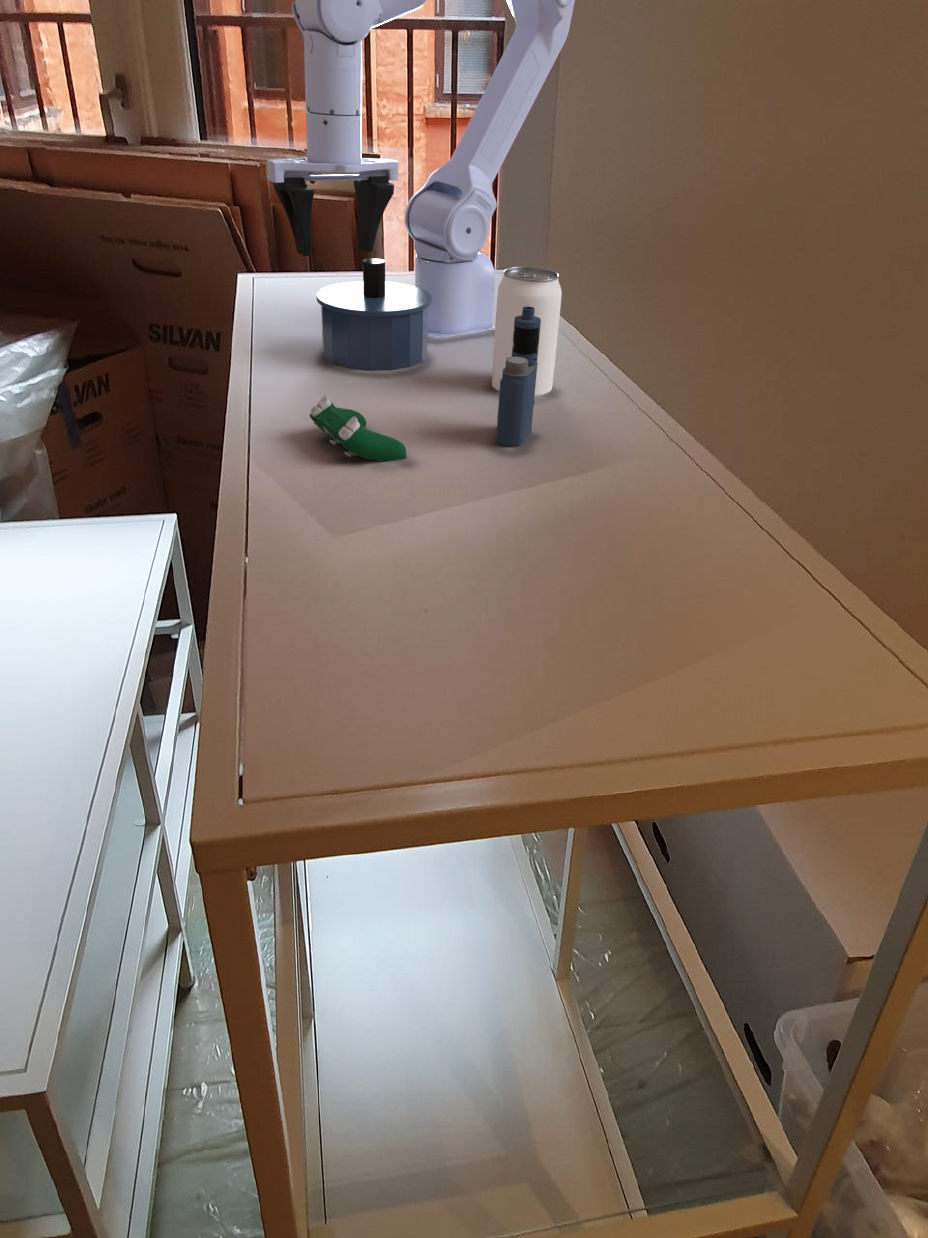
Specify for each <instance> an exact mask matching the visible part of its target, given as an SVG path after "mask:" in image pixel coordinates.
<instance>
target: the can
mask: <svg viewBox="0 0 928 1238" xmlns="http://www.w3.org/2000/svg"><path fill="white" fill-rule="evenodd" d="M502 274H503V276H502V279H501V281H500V282H499V284H498V288H497V294H496V295H497V297H496V309H495V310H496V312H495V324H494V325H495V326H494V327H495V329H494V341H493V355H492V356H493V357H492V372H491V373H492V374H491V385H492V388H494V389H495V390H496V391H500V380H501V379H502V373H503V372H502V370H503V369H504V368H505V365H506V358H508V357H512V346H513V347H514V345H513V333H514V320H515V317H516V316H520V315H522V310H523V307H527V306H528V307H533V308H535V310H534V316H536V317H539V318H540V319H541V325H540V336H539V347H537V349H538V357H537V362H538V364H537V374H536V385H535V396H534V397H537V396H542V395H546V394H549V393H550V392H551V391H552V390H553V384H554V377H555V376H554V374H555V364H556V355H557V347H558V337H559V325H560V318H561V317H560V316H561V305H562V293H563V292H562V288H561V287H562V286H561V284H560V282H559V278H560V273H559V272H557V271H555V270H552V269H549V268H545V267H544V268H543V267H538V266H513V267H508V268H506V269H504V270H503V271H502Z"/></svg>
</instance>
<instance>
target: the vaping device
mask: <svg viewBox="0 0 928 1238" xmlns="http://www.w3.org/2000/svg"><path fill="white" fill-rule="evenodd" d="M534 310H535V308H533V307H528V306H527V307H523V310H522V315H520V316H516V317H515V320H514V333H513V345H514V347H513V346H512V357H508V358H506V365H505V368H504V369H503V370H502V372H503V373H502V379H501V380H500V391H499V395H498V407H497V420H496V421H497V422H496V437H495V438H496V439H495V440H496V442H497V444H498V445H500V446H503V447H507V448H518V447H521V446H522V445H523V444H524V443H525V441H526V440H527V439H528V437H529V436H530V435H531V433H532V426H533V418H534V417H533V416H534V415H533V414H534V406H535V403H536V402H535V397H536V396H535V385H536V374H537V364H538V362H537V357H538V349H537V347H539V336H540V325H541V319H540V318H539V317H536V316H534Z"/></svg>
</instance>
